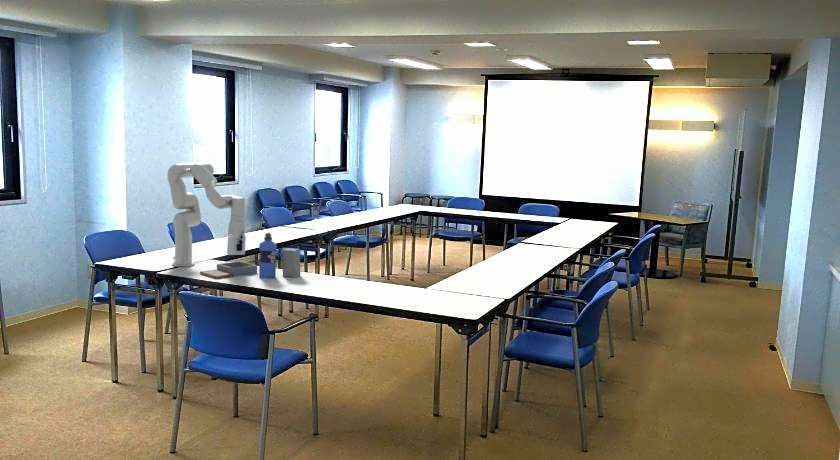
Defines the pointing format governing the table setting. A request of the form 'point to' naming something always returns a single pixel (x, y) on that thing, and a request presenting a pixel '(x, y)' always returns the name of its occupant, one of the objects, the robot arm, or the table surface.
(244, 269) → the bin
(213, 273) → the board
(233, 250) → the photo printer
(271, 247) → the water bottle
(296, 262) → the skincare box
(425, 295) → the table surface
